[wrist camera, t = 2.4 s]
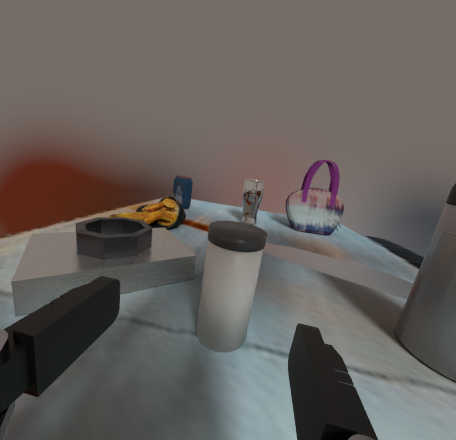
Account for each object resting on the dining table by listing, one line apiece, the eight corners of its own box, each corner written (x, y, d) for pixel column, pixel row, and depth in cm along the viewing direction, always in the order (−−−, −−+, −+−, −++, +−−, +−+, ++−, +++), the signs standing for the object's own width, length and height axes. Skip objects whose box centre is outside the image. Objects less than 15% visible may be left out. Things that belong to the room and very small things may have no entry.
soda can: (187, 206, 86) (190, 177, 84) (191, 210, 80) (194, 178, 77) (170, 205, 84) (173, 174, 81) (173, 209, 78) (175, 176, 75)
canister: (227, 308, 27) (241, 220, 24) (256, 339, 23) (279, 236, 20) (187, 322, 24) (198, 221, 21) (212, 361, 20) (232, 242, 17)
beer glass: (236, 218, 77) (242, 177, 74) (254, 220, 79) (261, 180, 75) (240, 224, 71) (248, 179, 67) (260, 226, 72) (268, 182, 69)
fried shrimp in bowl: (199, 213, 57) (145, 194, 41) (175, 244, 59) (115, 236, 43) (180, 195, 61) (126, 170, 46) (159, 224, 63) (100, 210, 47)
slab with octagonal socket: (163, 245, 44) (165, 213, 42) (193, 278, 33) (198, 237, 31) (34, 258, 32) (30, 214, 30) (15, 316, 21) (8, 253, 20)
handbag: (332, 230, 82) (350, 165, 76) (344, 238, 72) (366, 164, 66) (278, 222, 82) (292, 156, 76) (283, 229, 73) (300, 154, 67)
